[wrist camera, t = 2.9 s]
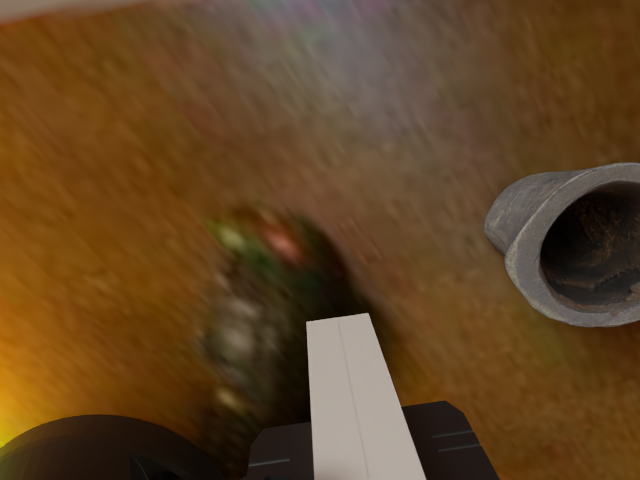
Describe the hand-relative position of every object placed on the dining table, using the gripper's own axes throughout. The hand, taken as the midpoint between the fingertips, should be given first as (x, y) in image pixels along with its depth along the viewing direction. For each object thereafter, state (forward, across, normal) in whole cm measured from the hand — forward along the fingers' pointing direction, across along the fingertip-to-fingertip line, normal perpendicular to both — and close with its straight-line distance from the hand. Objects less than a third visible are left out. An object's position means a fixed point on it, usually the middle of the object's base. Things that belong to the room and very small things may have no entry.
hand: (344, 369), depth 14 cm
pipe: (+15, +13, 0) cm, 20 cm away
